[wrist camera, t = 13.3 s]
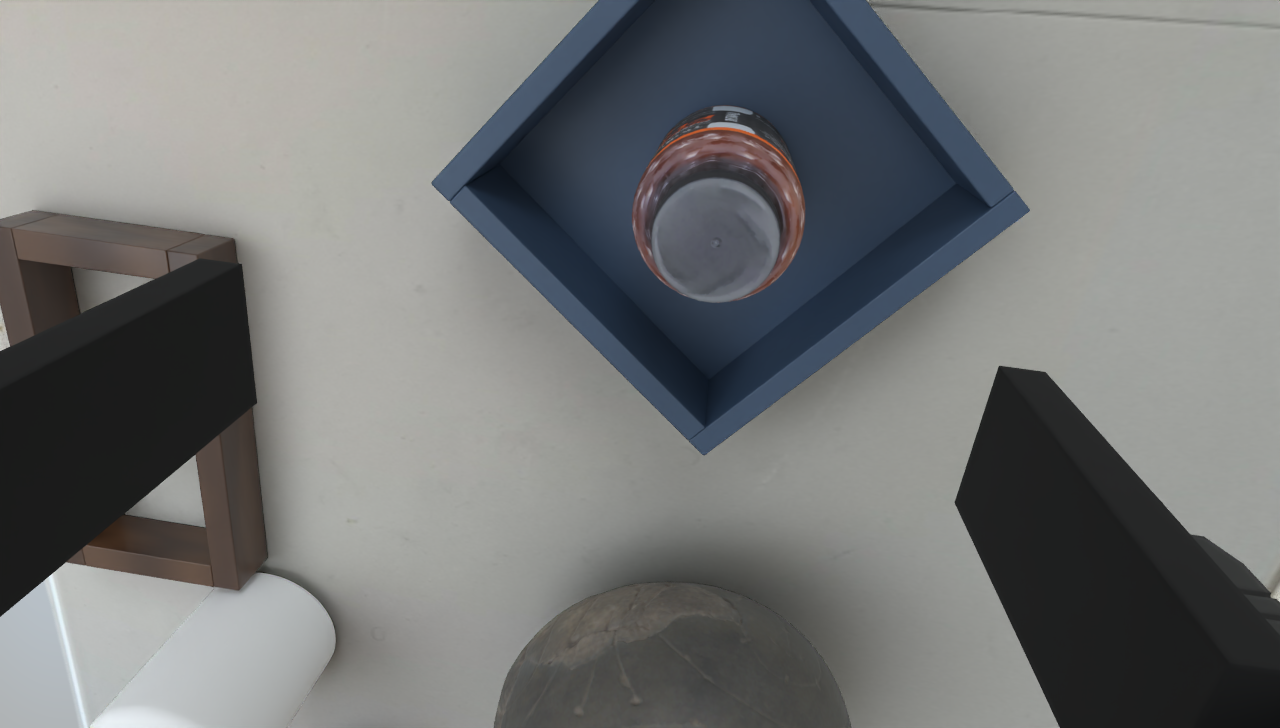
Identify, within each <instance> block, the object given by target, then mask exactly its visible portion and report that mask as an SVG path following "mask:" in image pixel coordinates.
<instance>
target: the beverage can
mask: <svg viewBox="0 0 1280 728" xmlns="http://www.w3.org/2000/svg"><path fill="white" fill-rule="evenodd" d="M335 644H336V635H335V629H334V626H333V623H332V620H331V618H330V616H329V614H328V613H327V611H326V610H325V608H324V607H323V606H322V604H321V603H320V602H319V601H318V600H317V599H316V598H315V597H314V596H313V595H312V594H310V593H309V592H308V591H307V590H305V589H304V588H302V587H301V586H299V585H297V584H296V583H294V582H292V581H289V580H287V579H285V578H282V577H279V576H275V575H271V574H266V573H254V574H253V575H252V577H251V578H250V579H249V580H248V581H247V582H246V584H245V585H244V586H243V587H242V588H241V589H240V590H239V591H237V590H231V589H225V588H219V587H215V588H214V590H213V591H212V592H211V593H210V594H209V595H208V596H207V597H206V598H205V599H204V600H203V602H202V603H201V604H200V605H199V606H198V607H197V608H196V609H195V610H194V611H193V613H192V614H191V615H190V616H189V617H188V618H187V619H186V620H185V621H184V622H183V624H182V625H181V626H180V627H179V628H178V629H177V630H176V631H175V632H174V633H173V635H172V636H171V637H170V638H169V639H168V640H167V641H166V642H165V643H164V644H163V646H162V647H161V648H160V649H159V650H158V651H157V652H156V653H155V654H154V655H153V656H152V658H151V659H150V660H149V661H148V662H147V663H146V664H145V665H144V666H143V667H142V669H141V670H140V671H139V672H138V673H137V674H136V675H135V676H134V677H133V678H132V680H131V681H130V682H129V683H128V684H127V685H126V686H125V687H124V688H123V689H122V691H121V692H120V693H119V694H118V695H117V696H116V697H115V698H114V699H113V700H112V702H111V703H110V704H109V705H108V706H107V707H106V708H105V709H104V710H103V711H102V713H101V714H100V715H99V716H98V717H97V718H96V719H95V720H94V721H93V723H92V724H91V726H90V727H89V728H288V726H289V724H290V723H291V721H292V720H293V718H294V717H295V715H296V713H297V712H298V710H299V709H300V707H301V705H302V704H303V702H304V701H305V699H306V697H307V696H308V694H309V693H310V691H311V689H312V688H313V686H314V685H315V683H316V682H317V680H318V678H319V677H320V675H321V674H322V672H323V670H324V669H325V667H326V666H327V664H328V662H329V661H330V659H331V657H332V655H333V653H334V650H335Z"/></svg>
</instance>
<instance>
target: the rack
mask: <svg viewBox="0 0 1280 728" xmlns="http://www.w3.org/2000/svg"><path fill="white" fill-rule="evenodd" d="M199 258H201V259H209V260H216V261H224V262H231V263H237V259H236V249H235V240H234V239H233V238H226V237H219V236H212V235H205V234H199V233H192V232H184V231H177V230H170V229H163V228H156V227H149V226H142V225H135V224H128V223H121V222H114V221H106V220H99V219H92V218H85V217H78V216H71V215H64V214H56V213H49V212H41V211H34V210H32V211H28V212H25V213H21V214H17V215H14V216H10V217H6V218H3V219H0V305H1V310H2V314H3V318H4V322H5V326H6V331H7V335H8V339H9V343H10V347H11V346H13V345H15V344H17V343H19V342H21V341H23V340H26V339H28V338H30V337H32V336H34V335H36V334H38V333H41V332H43V331H45V330H47V329H49V328H51V327H53V326H56V325H58V324H60V323H62V322H64V321H66V320H68V319H71V318H73V317H75V316H77V315H79V314H80V312H79V307H78V302H77V297H76V292H75V287H74V281H73V276H72V271H71V267H77V268H84V269H91V270H98V271H105V272H111V273H118V274H125V275H132V276H139V277H146V278H153V279H156V278H159V277H161V276H163V275H165V274H167V273H169V272H171V271H174V270H176V269H178V268H180V267H182V266H184V265H186V264H189V263H191V262H193V261H195V260H197V259H199ZM196 461H197V468H198V475H199V482H200V489H201V496H202V503H203V510H204V518H205V525H206V528H202V527H196V526H190V525H184V524H177V523H171V522H165V521H159V520H153V519H146V518H140V517H134V516H128V515H122V516H121V517H119V518H118V519H117V520H116V521H115V522H113V523H112V524H111V525H110V526H109V527H107V528H106V529H105V530H104V531H103V532H101V533H100V534H99V535H98V536H97V537H95V538H94V539H93V540H92V541H91V542H89V543H88V544H87V545H86V546H85V547H83V548H82V549H81V550H80V551H79V552H77V553H76V554H75V555H74V556H73V557H71V558H70V559H69V560H68V561H67V562H68V563H74V564H80V565H86V566H91V567H97V568H103V569H109V570H115V571H121V572H127V573H133V574H139V575H145V576H151V577H157V578H163V579H169V580H175V581H181V582H187V583H193V584H199V585H205V586H211V587H214V586H215V587H219V588H225V589H231V590H237V591H239V590H240V589H241V588H242V587H243V586H244V585H245V584H246V582H247V581H248V580H249V579H250V578H251V577H252V575H253V574H254V573H255V572H256V571H257V570H258V568H259V567H260V566H261V565H262V564H263V563H264V562H265V560H266V559H267V547H266V538H265V528H264V519H263V509H262V499H261V490H260V480H259V470H258V461H257V451H256V442H255V432H254V422H253V413H252V408H250V409H249V410H248V411H247V412H246V413H244V414H243V415H242V416H241V417H240V418H238V419H237V420H236V421H235V422H234V423H232V424H231V425H230V426H229V427H228V428H226V429H225V430H224V431H223V432H222V433H220V434H219V435H218V436H217V437H216V438H214V439H213V440H212V441H211V442H210V443H208V444H207V445H206V446H205V447H204V448H202V449H201V450H200V451H199V452H198V453H196Z"/></svg>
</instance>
